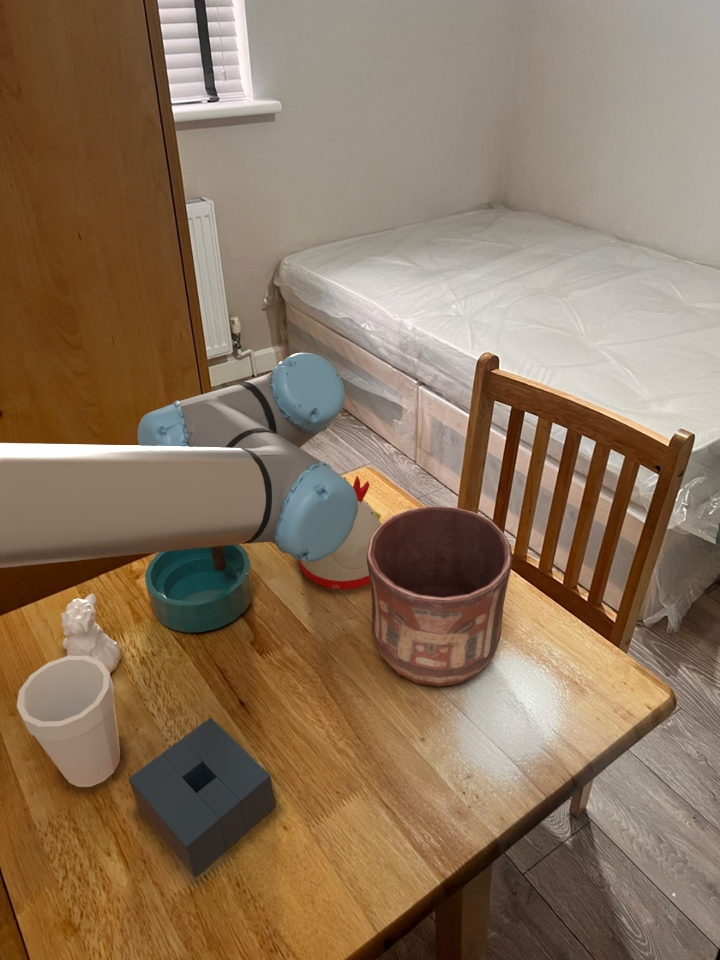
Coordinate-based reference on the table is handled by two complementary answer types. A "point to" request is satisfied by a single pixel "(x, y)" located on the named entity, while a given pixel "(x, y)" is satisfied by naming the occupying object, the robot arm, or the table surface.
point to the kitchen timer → (348, 551)
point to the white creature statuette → (88, 634)
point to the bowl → (199, 588)
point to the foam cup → (73, 717)
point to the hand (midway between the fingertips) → (193, 499)
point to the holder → (203, 795)
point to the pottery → (438, 592)
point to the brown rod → (218, 558)
